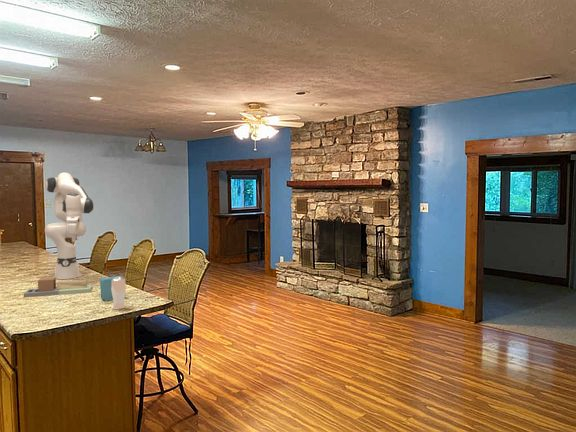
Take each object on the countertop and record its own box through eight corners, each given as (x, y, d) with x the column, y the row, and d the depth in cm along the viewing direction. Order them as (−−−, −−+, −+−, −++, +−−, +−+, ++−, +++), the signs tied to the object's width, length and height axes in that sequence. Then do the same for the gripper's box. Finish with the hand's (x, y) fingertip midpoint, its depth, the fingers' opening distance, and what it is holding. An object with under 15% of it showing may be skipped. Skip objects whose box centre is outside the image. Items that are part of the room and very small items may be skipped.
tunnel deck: (29, 292, 269) (28, 277, 268) (92, 287, 280) (91, 274, 279) (23, 297, 256) (23, 282, 256) (90, 292, 267) (89, 277, 267)
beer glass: (128, 306, 234) (127, 277, 234) (123, 309, 227) (122, 280, 227) (114, 306, 234) (113, 277, 233) (109, 309, 227) (108, 280, 226)
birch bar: (57, 288, 270) (57, 281, 269) (86, 286, 274) (86, 279, 274) (56, 289, 266) (56, 283, 265) (86, 287, 271) (85, 281, 270)
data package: (122, 296, 256) (122, 275, 255) (125, 298, 252) (124, 277, 252) (100, 299, 249) (100, 278, 248) (103, 301, 245) (102, 279, 244)
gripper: (70, 218, 290) (71, 239, 291) (65, 220, 271) (66, 242, 271) (81, 218, 292) (82, 239, 293) (77, 219, 273) (78, 242, 273)
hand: (74, 240), depth 282 cm, fingers open, 8 cm apart
